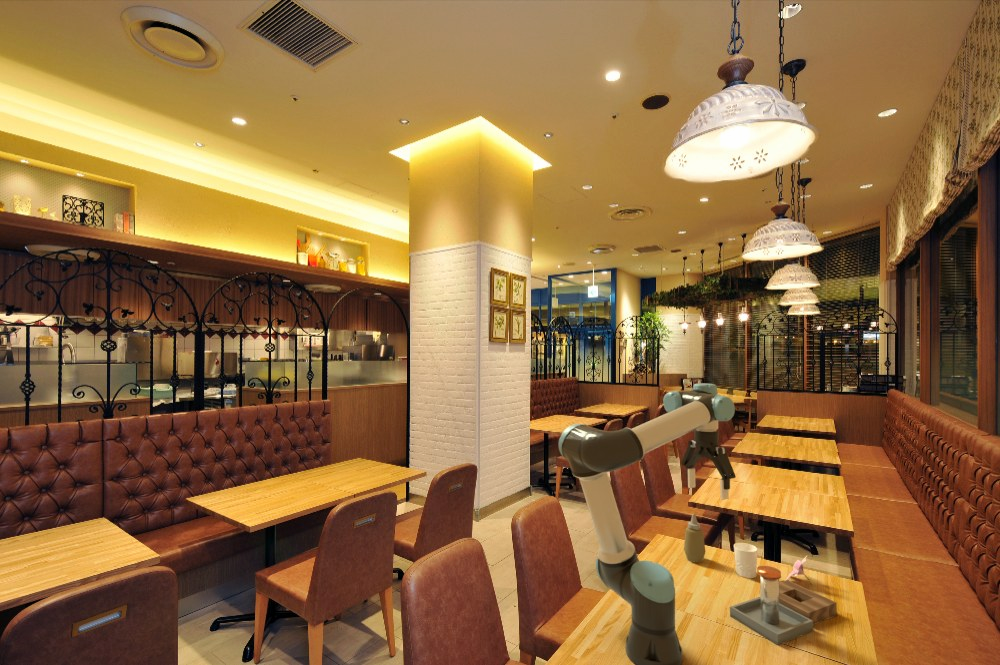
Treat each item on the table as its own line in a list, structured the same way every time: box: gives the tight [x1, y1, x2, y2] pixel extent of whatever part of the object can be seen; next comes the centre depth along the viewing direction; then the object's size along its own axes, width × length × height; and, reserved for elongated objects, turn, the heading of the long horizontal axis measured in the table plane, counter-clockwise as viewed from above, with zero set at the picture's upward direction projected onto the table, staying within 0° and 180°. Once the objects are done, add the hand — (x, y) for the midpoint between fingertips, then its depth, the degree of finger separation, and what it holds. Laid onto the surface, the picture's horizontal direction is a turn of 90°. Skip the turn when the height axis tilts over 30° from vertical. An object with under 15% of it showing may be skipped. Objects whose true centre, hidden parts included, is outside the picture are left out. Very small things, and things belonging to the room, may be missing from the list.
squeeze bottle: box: [683, 513, 706, 563], centre depth 189 cm, size 8×8×18 cm
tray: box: [729, 596, 814, 646], centre depth 146 cm, size 16×16×3 cm
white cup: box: [733, 542, 758, 579], centre depth 177 cm, size 8×8×10 cm
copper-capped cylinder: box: [756, 565, 782, 625], centre depth 146 cm, size 6×6×15 cm
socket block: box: [779, 579, 838, 626], centre depth 154 cm, size 14×16×4 cm
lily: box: [784, 555, 813, 586], centre depth 171 cm, size 12×12×10 cm
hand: (707, 493), depth 158 cm, fingers open, 13 cm apart
